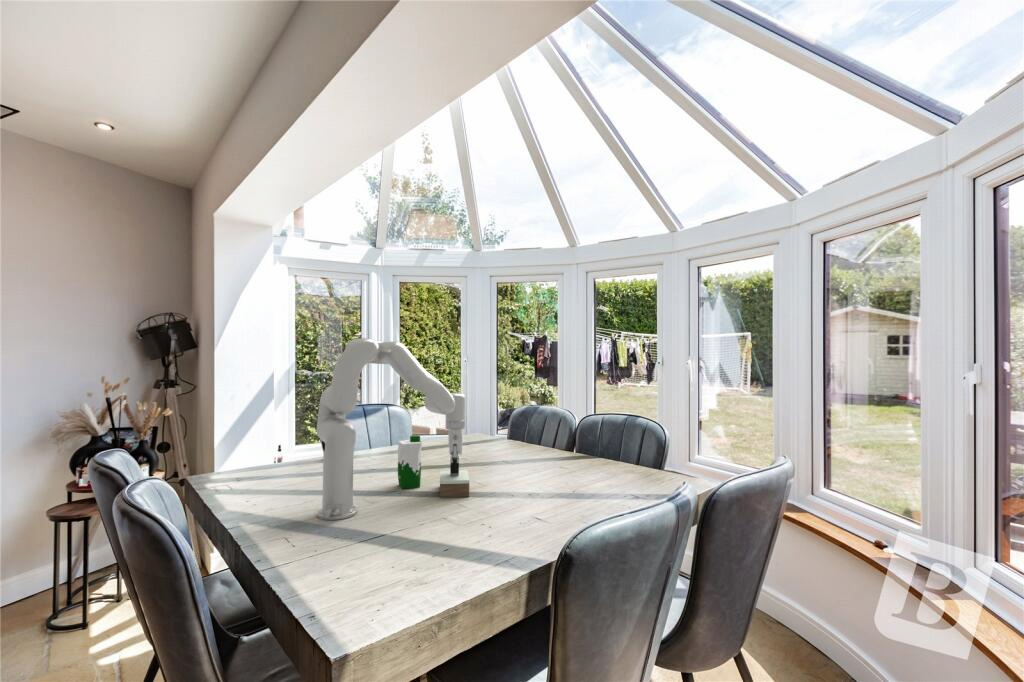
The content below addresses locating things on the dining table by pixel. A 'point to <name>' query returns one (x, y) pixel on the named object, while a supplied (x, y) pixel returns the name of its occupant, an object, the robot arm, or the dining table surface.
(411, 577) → the dining table surface
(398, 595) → the dining table surface
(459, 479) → the lid
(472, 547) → the dining table surface
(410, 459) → the milk carton
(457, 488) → the box
